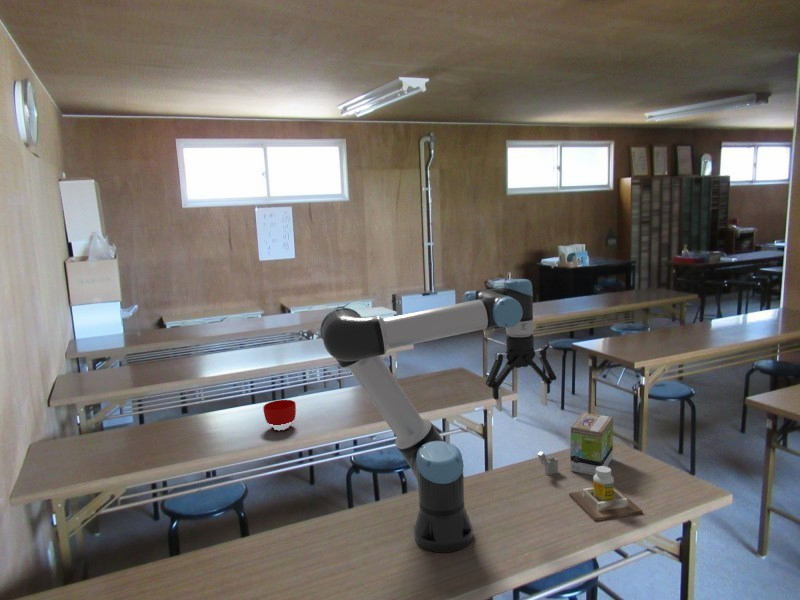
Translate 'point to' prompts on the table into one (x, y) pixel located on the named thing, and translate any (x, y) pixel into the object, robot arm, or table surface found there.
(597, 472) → the supplement bottle
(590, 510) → the socket board
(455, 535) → the robot arm
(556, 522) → the table surface
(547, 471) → the lighter
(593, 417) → the tea box
